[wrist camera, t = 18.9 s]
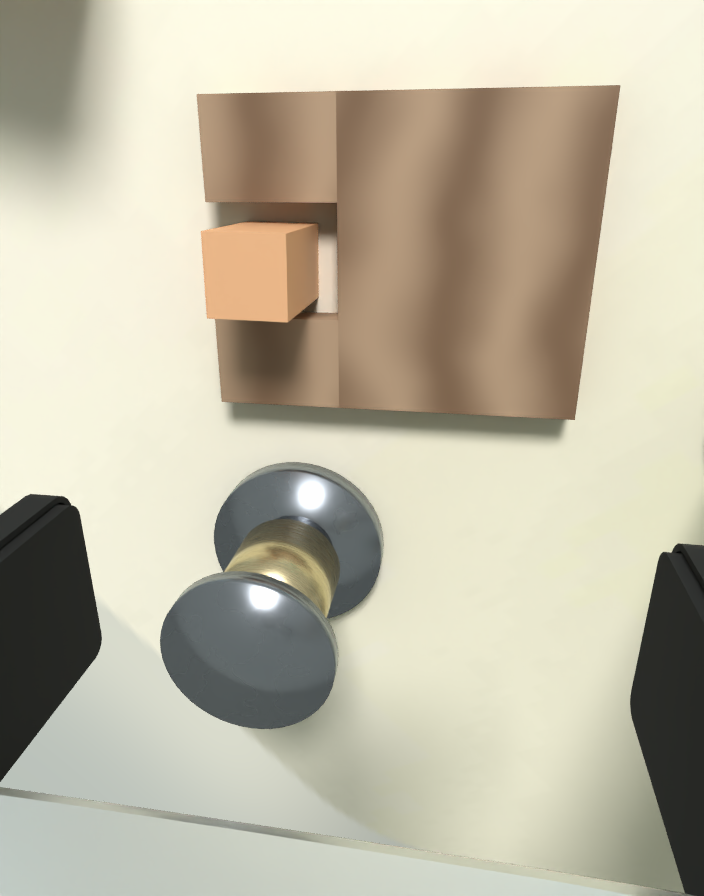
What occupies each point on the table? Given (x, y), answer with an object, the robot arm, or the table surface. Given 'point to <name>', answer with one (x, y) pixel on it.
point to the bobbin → (274, 597)
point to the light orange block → (260, 270)
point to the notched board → (424, 243)
